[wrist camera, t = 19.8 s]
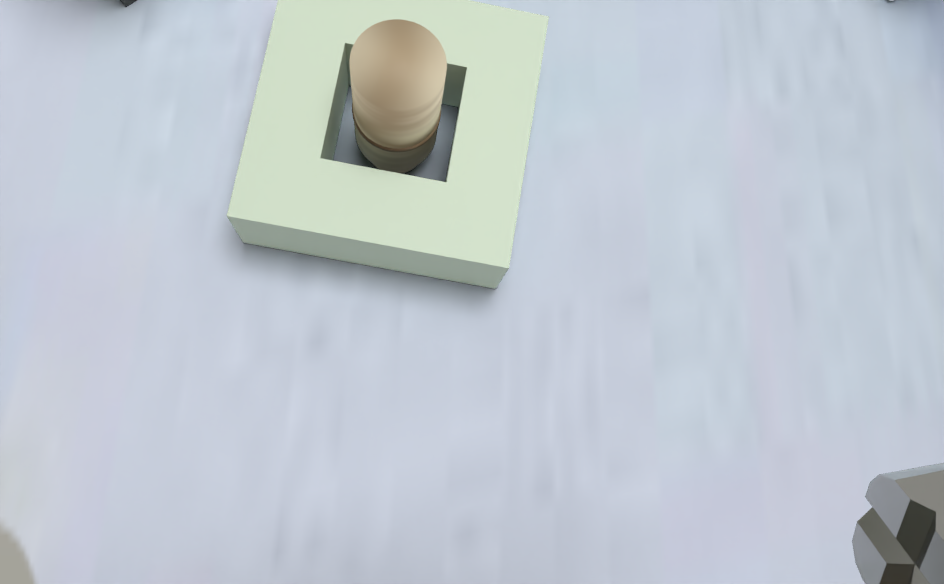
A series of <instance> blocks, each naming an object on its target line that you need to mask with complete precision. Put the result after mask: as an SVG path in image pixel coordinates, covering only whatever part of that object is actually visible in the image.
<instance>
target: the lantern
mask: <svg viewBox="0 0 944 584" xmlns="http://www.w3.org/2000/svg"><path fill="white" fill-rule="evenodd" d="M120 1H121V2H122V3H123V4H124V5H125V7H127V6H129V5H130V4H132V3H133V2H135V1H137V0H120Z"/></svg>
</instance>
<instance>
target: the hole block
mask: <svg viewBox="0 0 944 584" xmlns="http://www.w3.org/2000/svg"><path fill="white" fill-rule="evenodd" d="M548 18H549V17H548V16H543V15H538V14H533V13H529V12H524V11H519V10H514V9H509V8H504V7H499V6H494V5H490V4H485V3H480V2H475V1H470V0H278V3H277V7H276V11H275V15H274V19H273V24H272V28H271V32H270V36H269V40H268V45H267V49H266V53H265V57H264V62H263V66H262V70H261V74H260V78H259V83H258V87H257V91H256V95H255V99H254V104H253V108H252V112H251V116H250V120H249V125H248V129H247V133H246V137H245V141H244V146H243V150H242V154H241V158H240V162H239V167H238V171H237V175H236V179H235V184H234V188H233V192H232V196H231V200H230V205H229V209H228V213H227V217H228V219H229V220H230V222H231V224H232V225H233V227H234V228H235V230H236V232H237V233H238V235H239V237H240V238H241V240H242V241H243V243H248V244H253V245H259V246H264V247H269V248H275V249H280V250H286V251H291V252H297V253H302V254H308V255H313V256H319V257H324V258H329V259H335V260H340V261H346V262H351V263H357V264H362V265H368V266H373V267H379V268H384V269H390V270H395V271H400V272H406V273H411V274H417V275H422V276H428V277H433V278H439V279H444V280H450V281H455V282H460V283H466V284H471V285H477V286H482V287H488V288H493V289H496V288H497V286H498V285H499V283H500V282H501V280H502V278H503V277H504V275H505V273H506V272H507V270H508V269H509V264H510V258H511V251H512V245H513V239H514V232H515V226H516V220H517V214H518V207H519V201H520V195H521V188H522V182H523V176H524V170H525V163H526V157H527V151H528V144H529V138H530V132H531V125H532V119H533V113H534V107H535V100H536V94H537V88H538V81H539V75H540V69H541V63H542V56H543V50H544V44H545V37H546V31H547V25H548ZM392 19H401V20H408V21H412V22H415V23H417V24H420V25H421V26H423V27H425V28H426V29H428V30H429V31H430V32H431V33H433V34H434V35H435V37H436V38H437V39H438V40H439V42H440V43H441V45H442V47H443V49H444V52H445V55H446V60H447V71H446V78H445V85H444V91H443V97H442V104H445V105H450V106H456V107H459V109H458V114H457V120H456V125H455V131H454V136H453V142H452V147H451V153H450V159H449V164H448V170H447V175H446V181H445V182H442V181H437V180H432V179H427V178H421V177H416V176H411V175H406V174H400V173H395V172H390V171H385V170H379V169H374V168H369V167H364V166H358V165H353V164H348V163H343V162H338V161H333V158H334V153H335V148H336V144H337V139H338V134H339V129H340V125H341V120H342V115H343V111H344V106H345V101H346V96H347V92H348V87H349V86H351V77H350V62H349V60H350V53H351V50H352V47H353V45H354V43H355V41H356V40H357V38H358V37H359V36H360V35H361V33H363V32H364V31H365V30H366V29H367V28H369V27H370V26H372V25H374V24H376V23H379V22H382V21H386V20H392Z"/></svg>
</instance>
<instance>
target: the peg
mask: <svg viewBox="0 0 944 584" xmlns="http://www.w3.org/2000/svg"><path fill="white" fill-rule="evenodd" d="M349 62H350V77H351V89H352V101H353V102H352V113H353V119H354V125H355V136H356V141H357V144H358V146H359V149H360V150H361V152H362V153H363V155H364V156H365V157H366V158H367V159H368V160H369V161H371V162H372V164H373V165H374V166H375V167H377V168H378V169H379V170H385V171H390V172H395V173H400V174H402V173H406V172H409V171H411V170H412V169H414V168H415V167H416V166H417V165H418V164H420V163H421V162H423V161H424V160H425V159H426V158H427V157H428V155H429V154H430V153H431V151H432V149H433V147H434V145H435V141H436V135H437V129H438V125H439V121H440V116H441V104H442V97H443V91H444V85H445V78H446V71H447V60H446V55H445V52H444V49H443V47H442V45H441V43H440V42H439V40H438V39H437V38H436V37H435V35H434V34H433V33H431V32H430V31H429V30H428V29H426V28H425V27H423V26H421V25H420V24H417V23H415V22H412V21H408V20H401V19H392V20H386V21H382V22H379V23H376V24H374V25H372V26H370V27H369V28H367V29H366V30H365V31H364V32H363V33H361V35H360V36H359V37H358V38H357V40H356V41H355V43H354V45H353V47H352V50H351V53H350V60H349Z"/></svg>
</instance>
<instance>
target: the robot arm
mask: <svg viewBox="0 0 944 584" xmlns="http://www.w3.org/2000/svg"><path fill="white" fill-rule="evenodd" d="M865 497H866V499H867V500H868V501H869V503H870V504H871V506H872V508H871V509H870V510H869V511H868V512H867V513H866V514H865V515H864V516H863V517H862V518H861V519H860V520H858V521H857V524H856V528H855V532H854V536H853V540H852V543H853V550H854V556H855V563H856V565H857V567H858V570H859V572H860V574H861V577H862V579H863V581H864V582H865V584H944V463H939V464H934V465H928V466H923V467H918V468H912V469H907V470H901V471H896V472H890V473H885V474H880V475H878V476H877V477H876V478H874V479H873V480H872V481H871V482H870V484H869V487H868V490H867V493H866V496H865Z"/></svg>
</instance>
